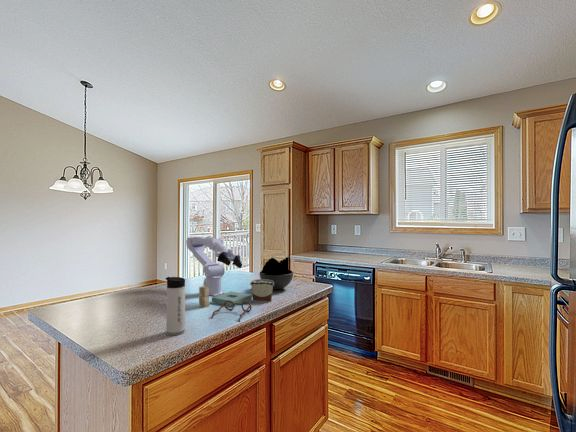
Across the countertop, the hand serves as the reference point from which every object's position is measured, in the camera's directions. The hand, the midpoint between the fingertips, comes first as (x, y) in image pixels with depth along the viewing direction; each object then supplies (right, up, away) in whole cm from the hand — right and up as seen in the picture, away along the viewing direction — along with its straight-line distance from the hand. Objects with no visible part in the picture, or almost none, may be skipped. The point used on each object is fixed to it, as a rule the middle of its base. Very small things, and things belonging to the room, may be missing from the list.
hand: (235, 265), depth 143 cm
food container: (+14, -19, +4) cm, 23 cm away
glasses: (+2, -19, -20) cm, 27 cm away
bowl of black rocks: (+19, -19, +26) cm, 38 cm away
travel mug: (-15, -18, -39) cm, 45 cm away
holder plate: (-2, -18, +1) cm, 18 cm away
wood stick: (-14, -18, -7) cm, 24 cm away
